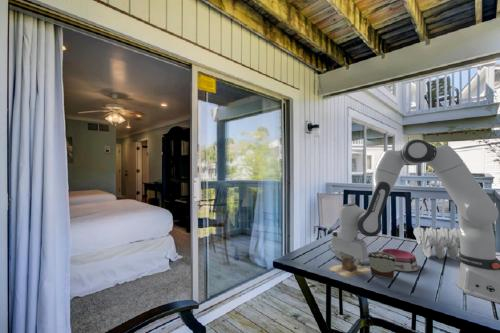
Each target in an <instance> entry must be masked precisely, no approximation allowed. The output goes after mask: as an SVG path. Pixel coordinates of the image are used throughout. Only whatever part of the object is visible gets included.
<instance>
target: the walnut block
mask: <svg viewBox="0 0 500 333" xmlns="http://www.w3.org/2000/svg"><path fill="white" fill-rule="evenodd" d="M354 262H356V259H355V258H354V257H352V258H350V257H347V258H343V259H342V260H341V264H342V269H345V270H347V271H349V272H352V271H355V270H357V266H355V265H354Z"/></svg>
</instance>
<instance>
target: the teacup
mask: <svg viewBox="0 0 500 333" xmlns="http://www.w3.org/2000/svg"><path fill="white" fill-rule="evenodd" d="M331 246H332V242H331V243H329V244H328V249H329V250H330V252H332V253H333V254H334V255H335V257H336V258H337V259H339V255H338V252H337V250H335V249H333V248H332V247H331ZM342 255H343V256H344V258H347V257H350V258H354V257H353V256H351V255H348V254H346V253H343V252H342Z"/></svg>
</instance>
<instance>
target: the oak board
mask: <svg viewBox="0 0 500 333" xmlns="http://www.w3.org/2000/svg"><path fill="white" fill-rule="evenodd" d="M326 269H327V270H330V271H332V272H334V273H336V274H338V275H341V277H344V278H346V279H350V278H354V277H357V276H360V275H364V274H368V273H371V269H370V268H368V267H365V266H364V265H362V264H359V266H357V270H355V271H352V272H349V271H347V270H345V269H342V263H339V264H336V265H332V266H328V267H326Z"/></svg>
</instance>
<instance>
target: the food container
mask: <svg viewBox="0 0 500 333" xmlns="http://www.w3.org/2000/svg"><path fill="white" fill-rule="evenodd" d="M367 256H368V257H367V258H369V262H370V265H369V266H370V268H369V269H370V270H371V272H370V274H371V276H375V277H382V278H386V279H392V280H395V279H394V278H395V271H394V270H395V261H396V258H395V256H393V255H391V254H388V253H383V252H381V251H371V252H368V254H367ZM396 262H397V261H396Z"/></svg>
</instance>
